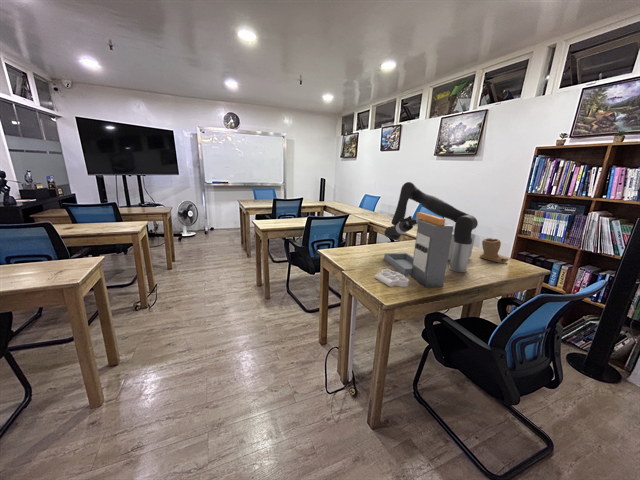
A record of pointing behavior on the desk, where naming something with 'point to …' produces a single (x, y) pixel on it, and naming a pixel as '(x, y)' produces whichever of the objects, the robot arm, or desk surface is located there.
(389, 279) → the white brass knuckles
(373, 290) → the desk surface
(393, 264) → the tray
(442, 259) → the cabinet
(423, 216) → the orange block
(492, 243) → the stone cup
